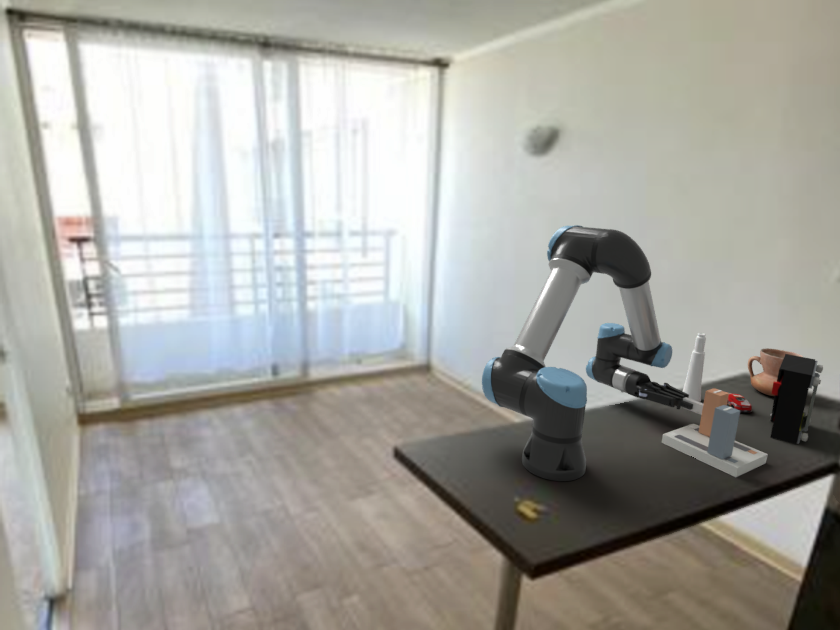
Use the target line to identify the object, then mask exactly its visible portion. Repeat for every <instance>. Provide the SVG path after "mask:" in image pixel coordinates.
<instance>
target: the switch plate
mask: <svg viewBox="0 0 840 630" xmlns="http://www.w3.org/2000/svg"><path fill="white" fill-rule="evenodd" d="M699 426H700V424H699V425H698V424H697V423H694V422H693V423H689V424H688V425H684V426H683V427H679V428H677V429H674V430H671V431H668V432H665V433H663V434H662V438H661V444H664V445H665V446H668V447H670V448H673V449H674V450H676V451H679V452H680V453H683V454H684V455H687V456H689V457H691V456H692V458H693V457H694V459H695V458H696V460H698V461H700V462H702V463H704V464H706V465H709V466H711V467H713V468H715V469H717V470H720V471H722V472H724V473H726V474H728V475H729V476H732V477H734V478H738V477H740V476H742V475H744V474H746V473H748V472H750V471H753V470H755V469H756V468H757V469H758V467H761V466H762V465H765V464H766V463H767V460H768V453H766V452H763V451H762V450H761V451H760V450H759V449H757V448H754V447H752V446H749V445H746V444H744V443H741V442H739V441H737V440H735V441H734V446H733V451H732V456H729V457H727V458H725V459H721V458H719V457H716V456H714V455H712V454H710V453H707V450H708V445H709V439H710V437H708V436H706V435H704V434H701V433H699Z"/></svg>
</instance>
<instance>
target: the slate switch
mask: <svg viewBox="0 0 840 630" xmlns="http://www.w3.org/2000/svg"><path fill="white" fill-rule="evenodd" d="M740 414H741V412H740V410H737V409H734V408H732V407H729V406H726V405H722V406H719V407H716V408H715V412H714V417H713V423H712V428H711V434H710V439H709V445H708V450H707V453H710V454H712V455H714V456H716V457H719V458H721V459H725V458H727V457H729V456H732V451H733V446H734V441H736V436H737V430H738V425H739V420H740Z"/></svg>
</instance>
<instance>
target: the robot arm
mask: <svg viewBox="0 0 840 630" xmlns="http://www.w3.org/2000/svg"><path fill="white" fill-rule="evenodd" d="M547 247H548V249H547V250H546V257H547V260H548V267H549V270H550V272H549V274H548V276H547V278H546V280H545V282H544V285H543V286H542V288H541V290H540V292H539V295H538V296H537V298H536V300H535V302H534V303H533V304H534V305H533V306H532V307H531V310H530V312H529V314H528V316H527V317H526V320H525V321H524V323H523V325H522V328H521V330H520V331H519V334H518V336H517V338H516V339H515V342H514V344H513V345H512V346H510V347H506V348H505V349H504V350H503V352H502V354H501V356H494V357H492V358H490V359H489V360H488V361H487V363H486V365H485V366H484V369H483V372H482V376H481V385H482V386H481V387H482V392H483V395H484V397H485V398H486V399H487V400H488V401H489V402H491V403H493V404H495V405H497V406H498V407H500V408H505V409H508V410H510V411H513V412H515V413H518V414H521V415H523V416H526V417H528V418H530V419H532V429H531V432H530V433H531V434H530V435H529V437H528V439H527V441H526V444H525V446H524V448H523V450H522V457H521V463H522V465H523V468H525V469H526V470H527V471H528V472H529V473H531V474H533V475H534V476H536V477H538V478H542V479H546V480H549V481H555V482H570V481H575V480H578V479H580V478H582V477H583V476H584V475H585V473H586V468H587V458H586V454H585V449H584V445H583V440H582V437H583V429H584V421H585V415H586V406H587V403H588V397H587V396H588V393H587V392H588V387H587V384H586V382H585V380H584V379H583V378H582V377H581V376H580V375H579V374H577V373H576V372H573V371H572V370H569V369H566V368H563V367H556V366H546V363H545V359H546V357H547V355H548V353H549V351H550V349H551V346H552V344H553V343H554V340H555V339H556V337H557V335H558V332H559V330H560V328H561V326H562V324H563V322H564V320H565V317H566V316H567V314H568V312H569V309H570V307H571V306H572V303H573V301H574V299H575V297H576V295H577V293H578V291H579V289H580V287H581V285H583V284H587V283H588V282H590V280H591V278H592V277H593V274H594V273H598V274H603V275H604V274H605V275H608V276H609V277H611V279H612V280H613V284H614V285H615V287H617V288H618V289H619V292H620V296H621V300H622V304H623V309H624V311H625V317H626V319H627V320H626V321H627V322H628V327H629V331H630V334H629V333H626V331H625V329H626V328H625V327H624V325H621V324H619V323H615V322H607V323H602V324H601V325H599V329H598V335H597V337H596V338H597V340H596V342H597V343H596V351H595V356H592V357H591V358H589V360H588V361H587V365H586V366H585V373H586V376H587V377H588V378H590V379H591V380H594V381H595V382H597V383H600V384H603V385H605V386H607V387H611V388H613V389H616V390H618V391H620V393H626V394H628V395H630V396H632V397H635V398H638V399H642V400H646V401H647V400H648V401H650V402H654V403H656V404H660V405H664V406H667V407H670V408H675V407H676V410H681V408H683V409H685V410H688V411H691V412H692V413H695V414H698V415H700V416H701V415H702V409H703V404H704V402H701V401H700V402H698V401H695V400H693V399H690V398H689V394H687V393H685V392H682V391H683V390H680V389H678V388H677V387H674V386H673V385H670V384H669V383H668V382H664V383H663V384H659V383H658V382H656V381H652V380H651V379H650V376H649V375H648V374H646V373H643V372H641V371H639V370H635V369H633V368H631V367H627V366H624V365H623V364H621V360H622V359H624V360H625V359H626V360H629V361H633V362H636V363H640V364H642V365H643V364H644V365H647V366H650V367H654V368H655V367H656V368H660V369H663V368H664V369H665V368H667V366H668V365H669V364H670V362H671V360H672V357H673V347H672V345H670V344H669V343H666V342H664V341H663V342H662V340H661V336H660V331H659V326H658V320H657V315H656V310H655V305H654V301H653V297H652V296H653V295H652V291H651V286H650V282H649V281H650V280H651V278H652V270H651V265H650V262H649V260H648V258H647V256H646V253H645V252H644V251H643V249H642V248H641V247H640V246H639V243H637V241H635V239H633V237H631V236H629V235H628V234H627V233H625V232H623V231H621V230H620V231H619V230H617V229H611V228H609V229H608V228H599V227H597V228H596V227H587V226H582V225H578V224H575V225H565V226H564V225H563V226H561V227H559V228H557V230H556V231H555V232H554V233H553V234H552V236H551V238H550V239H549V242H548V246H547ZM621 358H622V359H621Z"/></svg>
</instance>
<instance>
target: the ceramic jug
mask: <svg viewBox="0 0 840 630" xmlns="http://www.w3.org/2000/svg"><path fill="white" fill-rule="evenodd" d="M759 353H760V354H759V355H760V356H757V355H753V356H751V357H750V358H748V360H747V370H748V373H749V376H750V384H751V386H752V387H753V388H754V389H755V390H756V391H758V392H760V393H762V394H764V395H767V396H769V397H774V396H775V395H773V394H772V388H773V382H774V381H775V382H777V377H778V373H779V368H780V366H781V364H782V361H783V359H784V356H785V354H789V355H794V356H800V357H804V356H803V355H801V354H799V353H797V352H793V351H788V350H784V349H783V350H781V349H776V348H766V347H765V348H761V349H760V352H759ZM754 361H757V362H758V363H759V364H760V365H761V367H762V370H763V371H761V372H759V373H757V374H755V373H754V370H753V362H754Z"/></svg>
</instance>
